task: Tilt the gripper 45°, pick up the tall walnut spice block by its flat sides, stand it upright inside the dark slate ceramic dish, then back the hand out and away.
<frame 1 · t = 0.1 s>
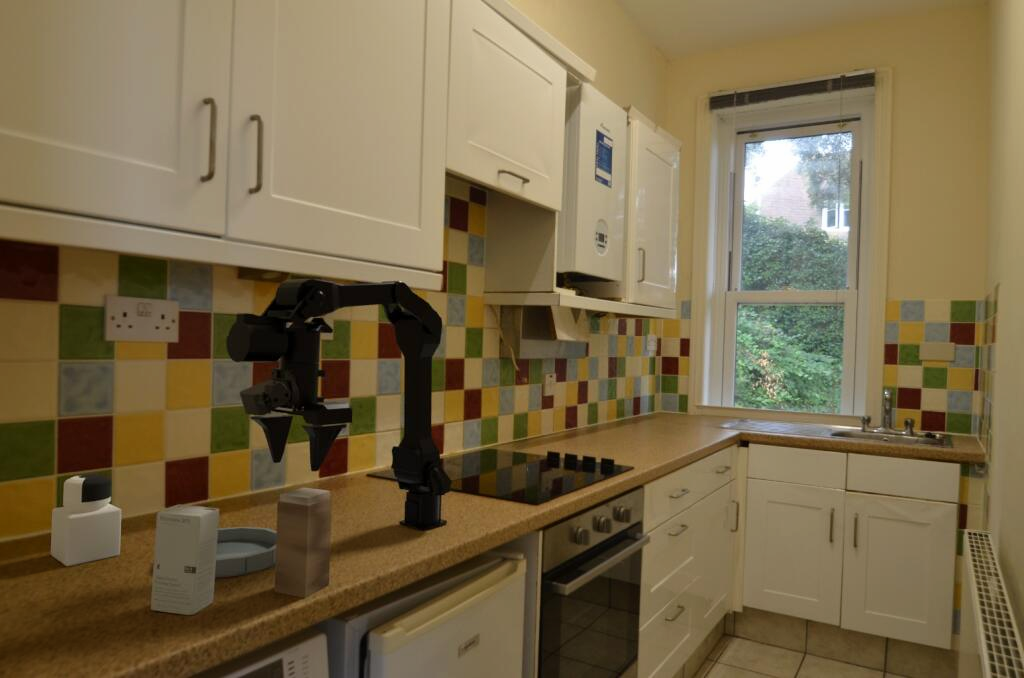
hand: (295, 466, 97), 15 cm above the worktop, tool pointing down, fingers open, 9 cm apart
walnut spice block: (302, 588, 88), on the worktop
medicine bottle: (85, 557, 98), on the worktop
skincare box: (184, 608, 81), on the worktop
slate dish: (228, 558, 98), on the worktop
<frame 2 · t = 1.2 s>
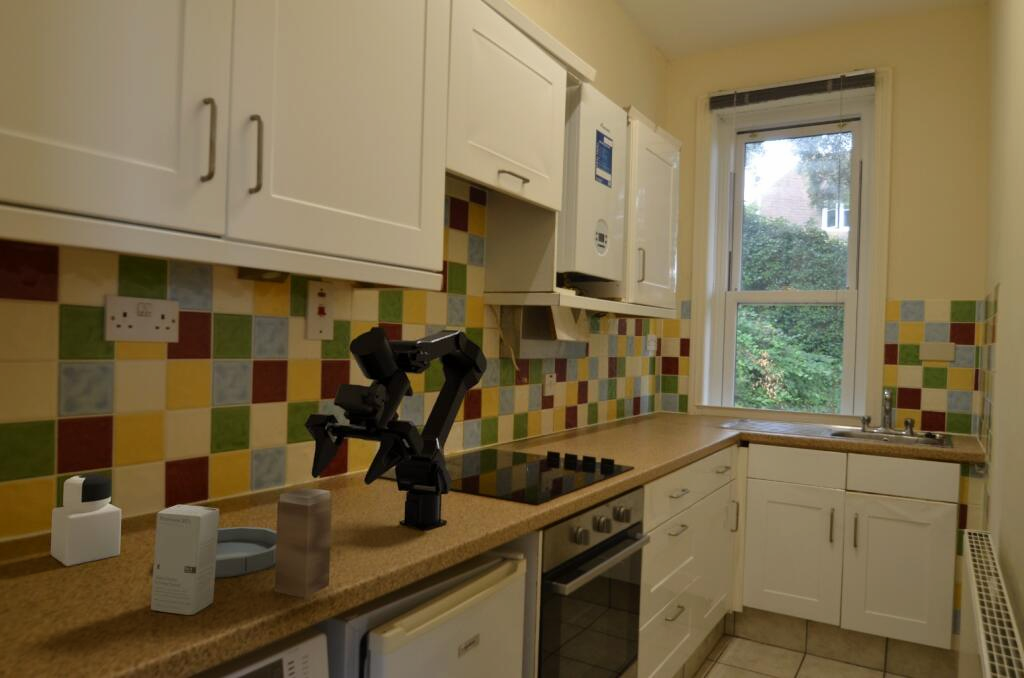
hand: (339, 479, 95), 13 cm above the worktop, tool tilted 45°, fingers open, 9 cm apart
nothing on the worktop moved.
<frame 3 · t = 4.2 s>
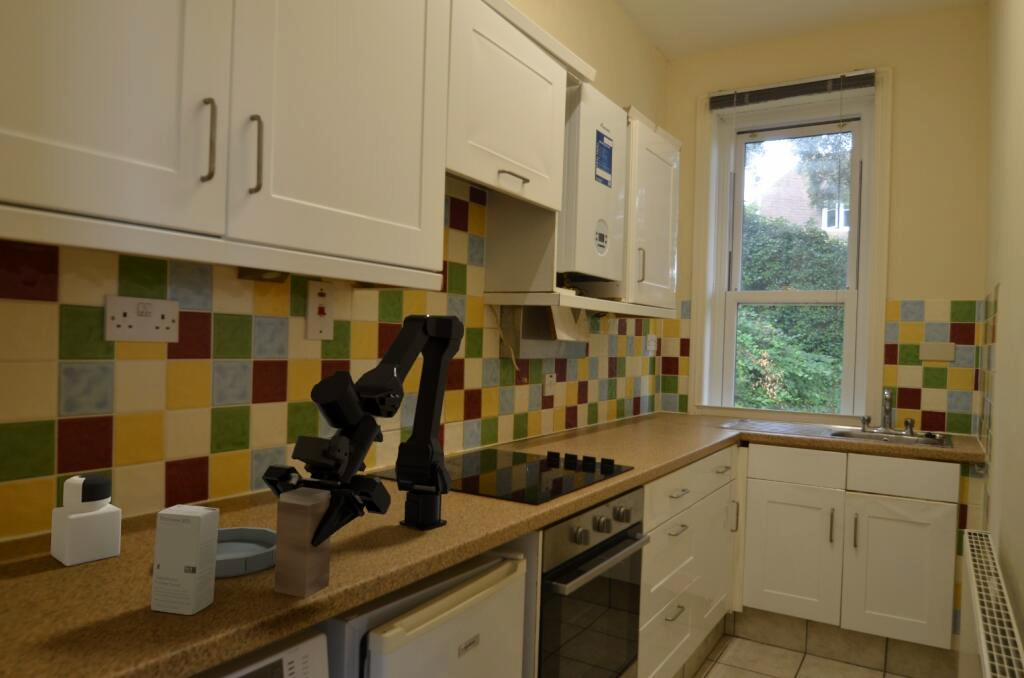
hand: (296, 542, 87), 7 cm above the worktop, tool tilted 45°, fingers closed on walnut spice block, 5 cm apart
walnut spice block: (302, 588, 88), on the worktop, touching gripper
everything else where it was.
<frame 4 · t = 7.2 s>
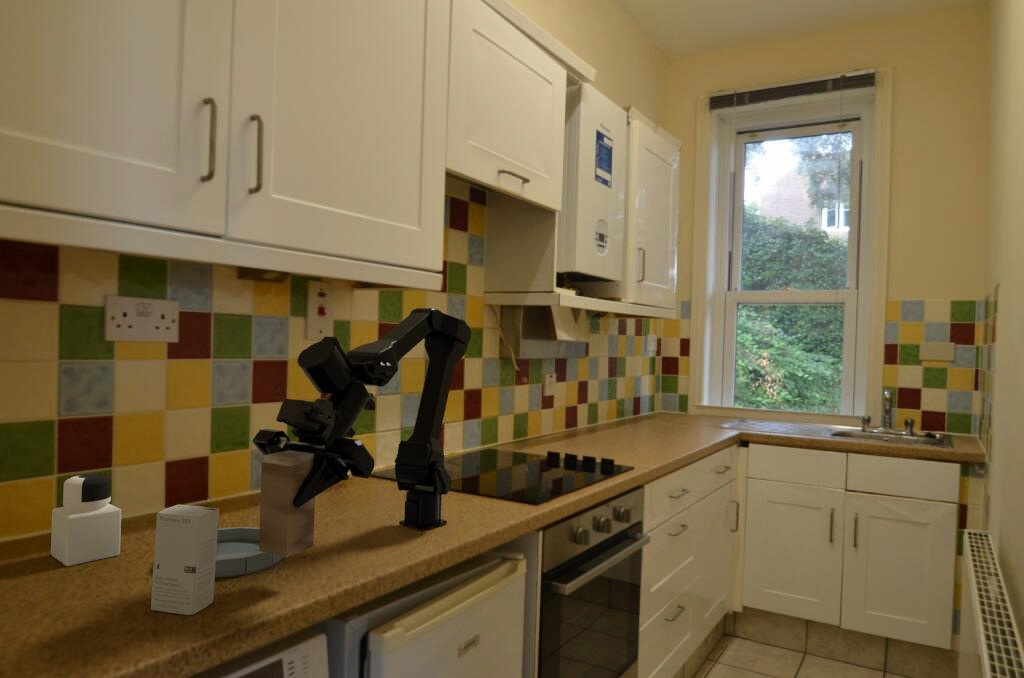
hand: (280, 502, 88), 11 cm above the worktop, tool tilted 45°, fingers closed on walnut spice block, 5 cm apart
walnut spice block: (286, 548, 89), point 5 cm above the worktop, touching gripper
everything else where it was.
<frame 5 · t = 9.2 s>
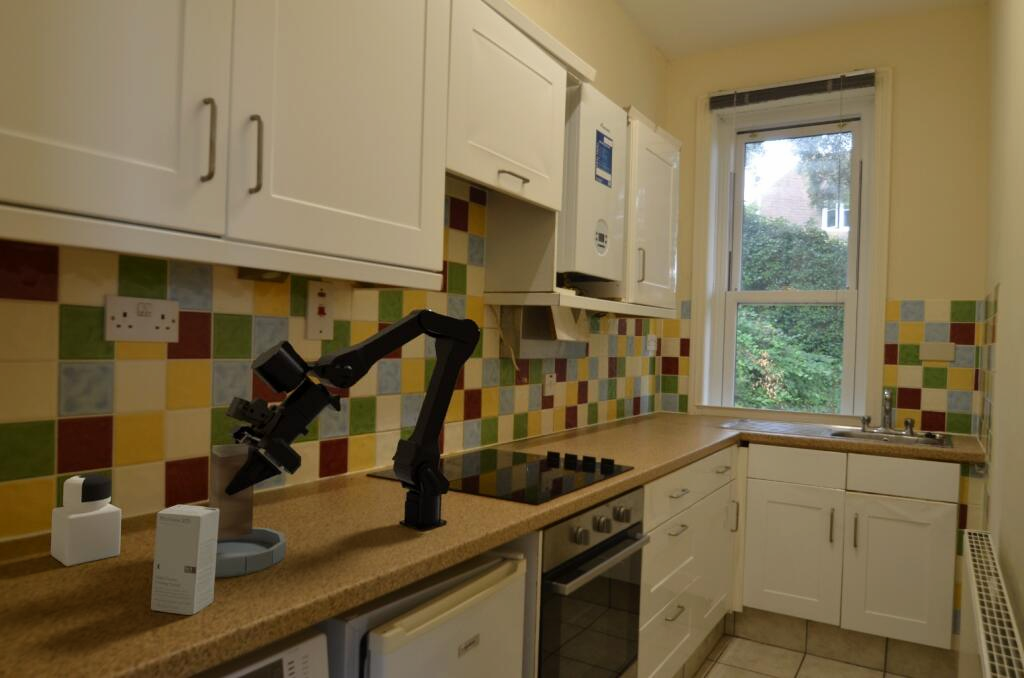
hand: (221, 490, 98), 11 cm above the worktop, tool tilted 45°, fingers closed on walnut spice block, 5 cm apart
walnut spice block: (230, 532, 99), point 4 cm above the worktop, touching gripper
everything else where it was.
when the fingers open (8 cm above the worktop, at t = 10.5 s): walnut spice block drops 1 cm, resting on slate dish.
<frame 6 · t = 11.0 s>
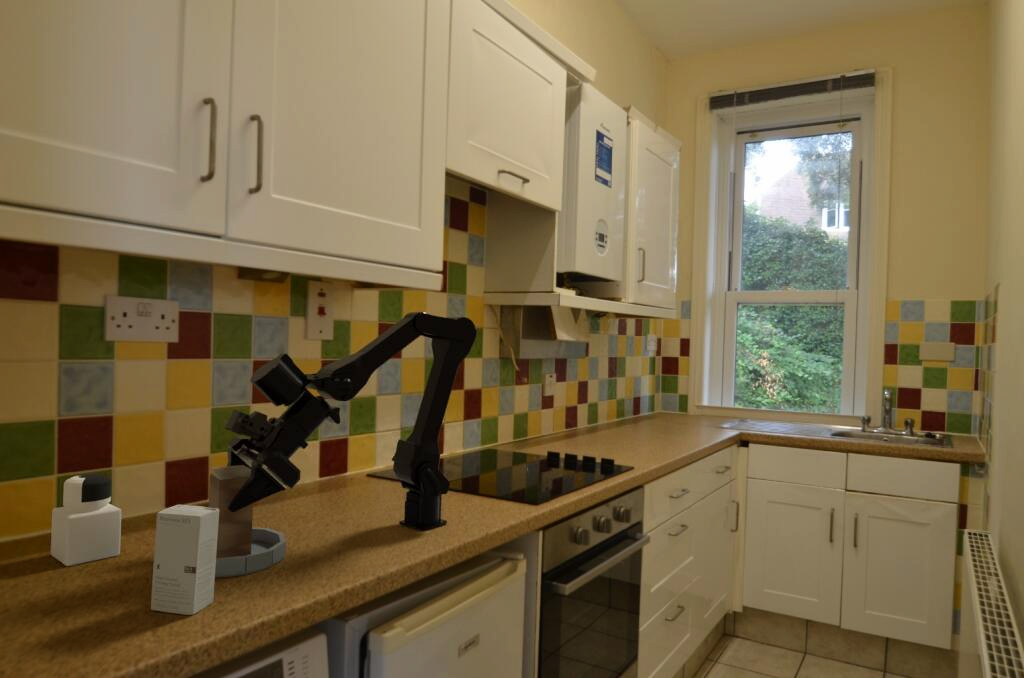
hand: (220, 503, 98), 9 cm above the worktop, tool tilted 45°, fingers open, 9 cm apart
walnut spice block: (228, 554, 98), point 1 cm above the worktop, touching slate dish
everything else where it was.
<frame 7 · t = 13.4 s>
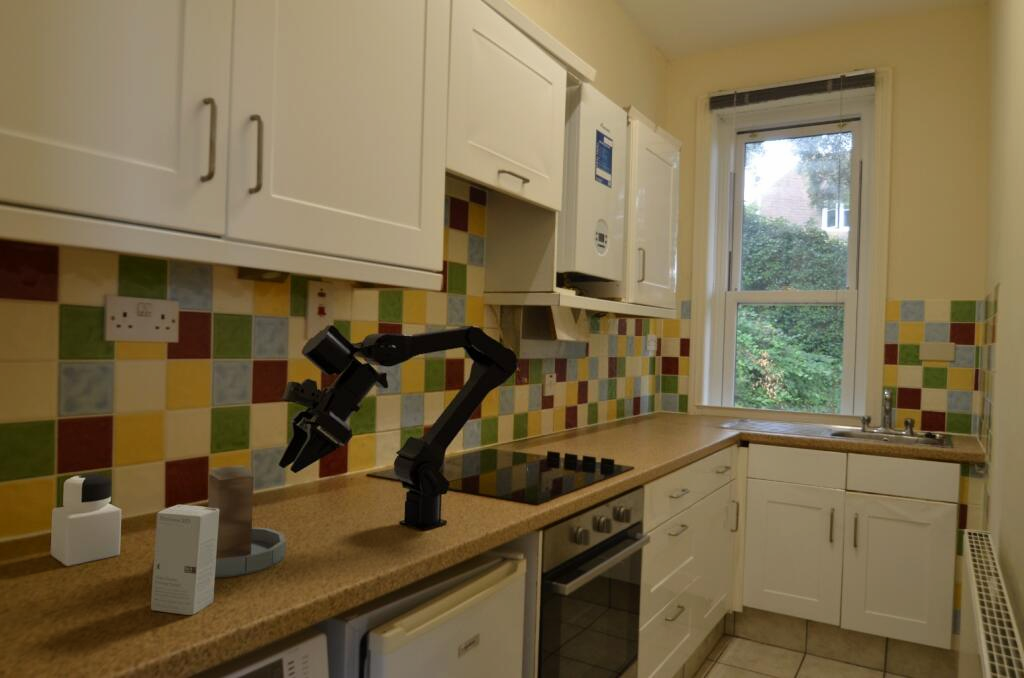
hand: (286, 469, 105), 13 cm above the worktop, tool tilted 40°, fingers open, 9 cm apart
nothing on the worktop moved.
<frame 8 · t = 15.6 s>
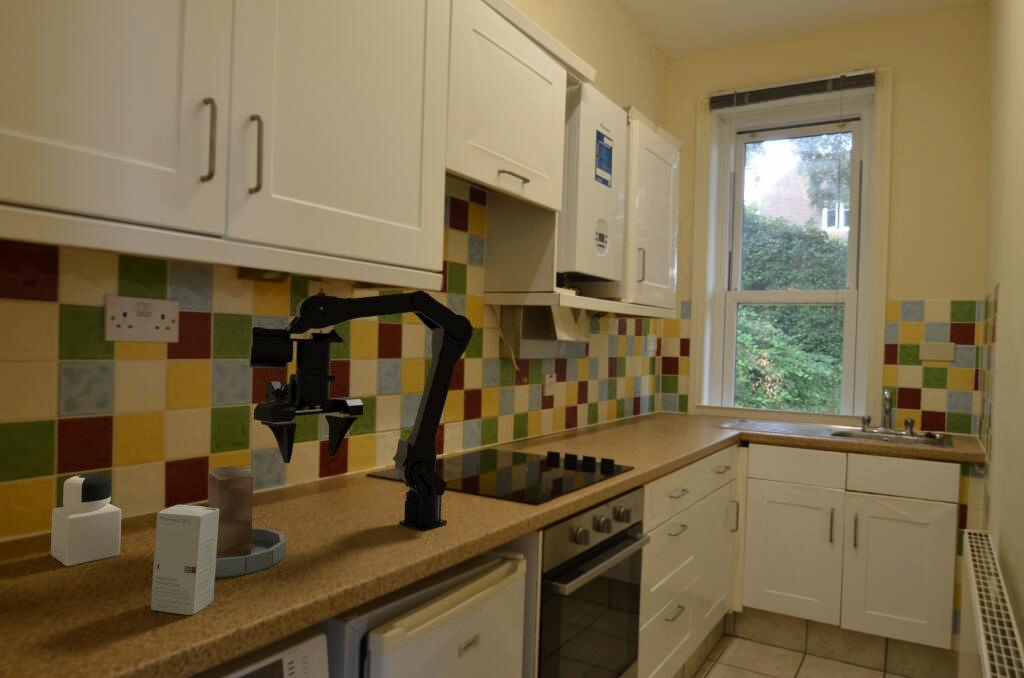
hand: (310, 459, 111), 13 cm above the worktop, tool pointing down, fingers open, 9 cm apart
nothing on the worktop moved.
at the end: walnut spice block inside the target area on the slate dish (0.0 cm from its centre), point 0.6 cm above the slate dish's base; walnut spice block tilted 0°; the gripper is holding nothing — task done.
